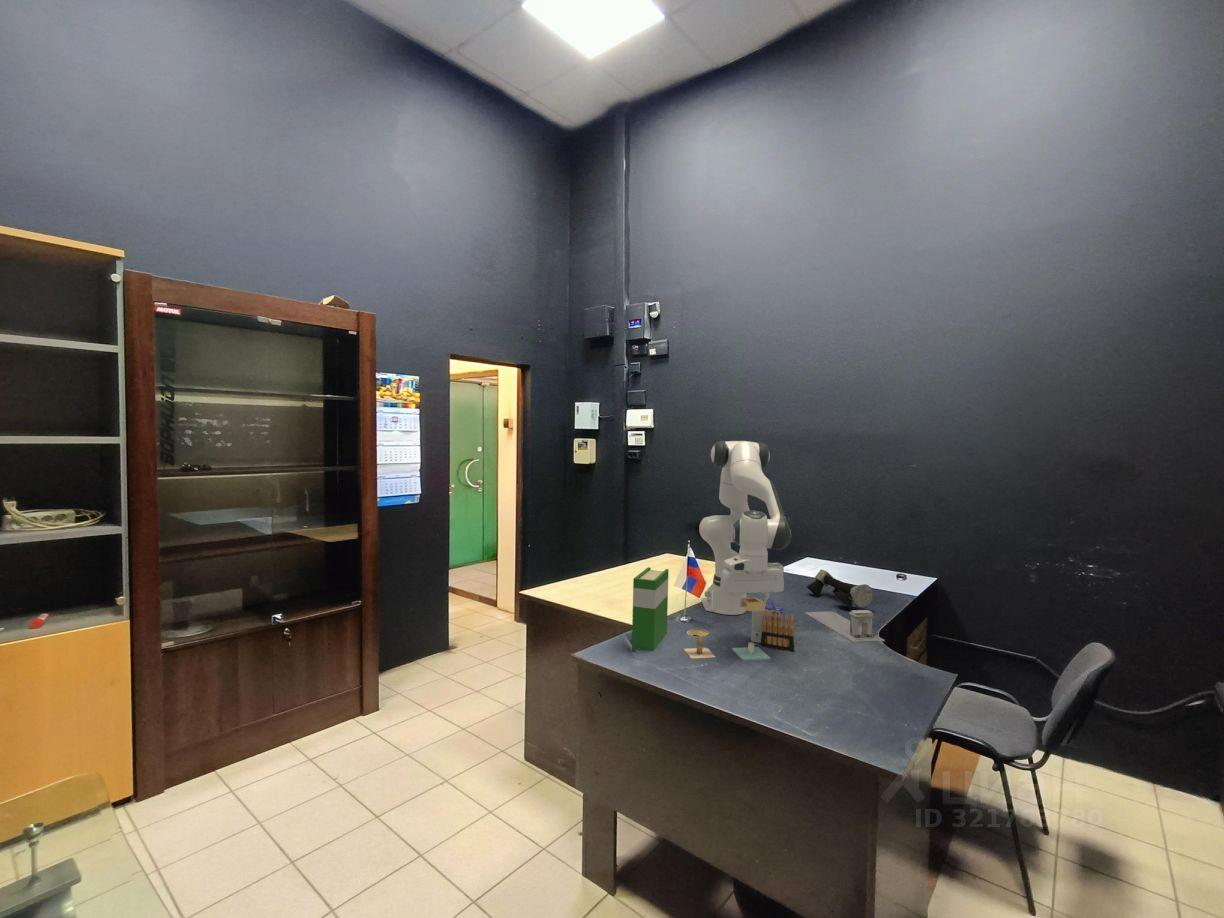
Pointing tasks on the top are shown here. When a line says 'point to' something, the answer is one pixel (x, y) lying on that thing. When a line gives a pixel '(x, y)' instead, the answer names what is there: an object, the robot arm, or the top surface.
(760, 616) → the ink cartridge box
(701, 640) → the stand
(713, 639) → the top surface
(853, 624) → the triumphal arch model
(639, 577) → the hardback book
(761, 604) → the tan tray
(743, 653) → the mint green base plate
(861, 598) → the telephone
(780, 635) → the ammunition clip
